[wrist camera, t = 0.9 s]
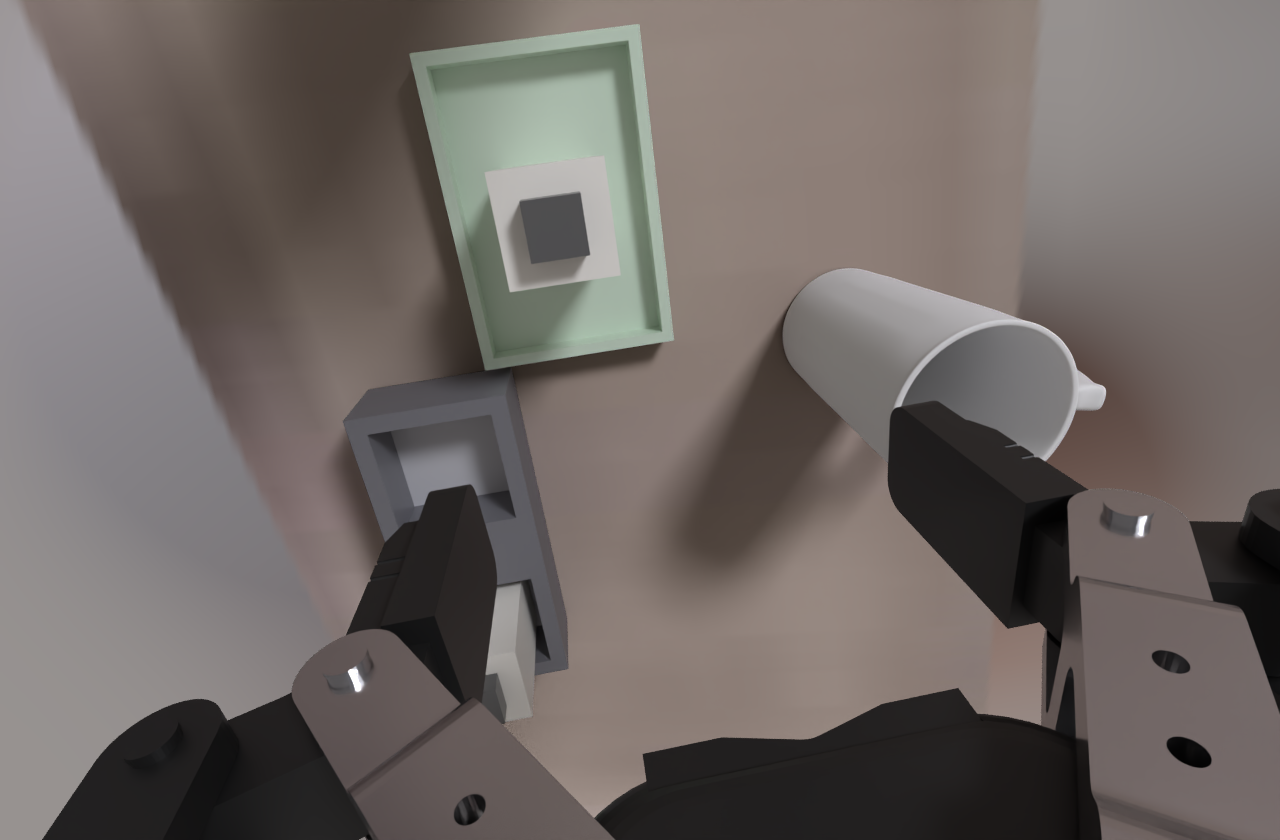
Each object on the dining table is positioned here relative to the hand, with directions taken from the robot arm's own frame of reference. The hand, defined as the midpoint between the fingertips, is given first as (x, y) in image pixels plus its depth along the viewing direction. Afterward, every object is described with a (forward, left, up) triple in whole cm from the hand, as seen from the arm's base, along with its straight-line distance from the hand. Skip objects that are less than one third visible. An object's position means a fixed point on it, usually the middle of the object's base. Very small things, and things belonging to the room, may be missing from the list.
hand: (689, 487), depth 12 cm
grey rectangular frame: (+11, -9, -20) cm, 24 cm away
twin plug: (+16, -9, -19) cm, 26 cm away
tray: (-4, -2, -20) cm, 20 cm away
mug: (+4, +13, -20) cm, 24 cm away
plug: (-4, -2, -19) cm, 20 cm away
